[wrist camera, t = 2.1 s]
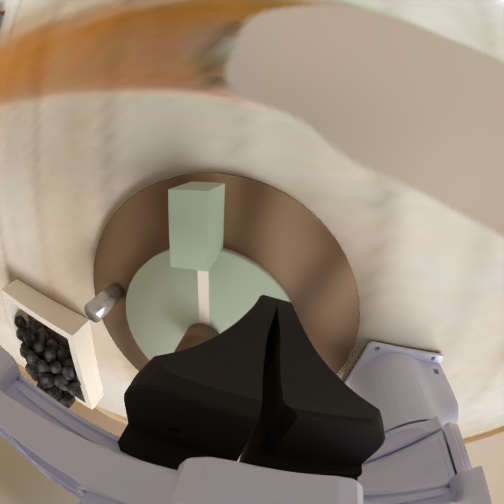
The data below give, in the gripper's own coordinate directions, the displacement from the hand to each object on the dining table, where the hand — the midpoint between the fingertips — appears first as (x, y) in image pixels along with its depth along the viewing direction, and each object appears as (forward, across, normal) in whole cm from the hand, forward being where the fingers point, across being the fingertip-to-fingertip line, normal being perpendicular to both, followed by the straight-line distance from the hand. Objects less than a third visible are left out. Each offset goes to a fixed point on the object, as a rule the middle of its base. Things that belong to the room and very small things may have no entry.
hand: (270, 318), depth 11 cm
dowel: (+10, +14, +9) cm, 19 cm away
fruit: (+10, +26, +23) cm, 36 cm away
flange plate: (+9, +4, +6) cm, 12 cm away
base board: (+10, +4, +9) cm, 14 cm away
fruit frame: (+10, +26, +23) cm, 36 cm away
